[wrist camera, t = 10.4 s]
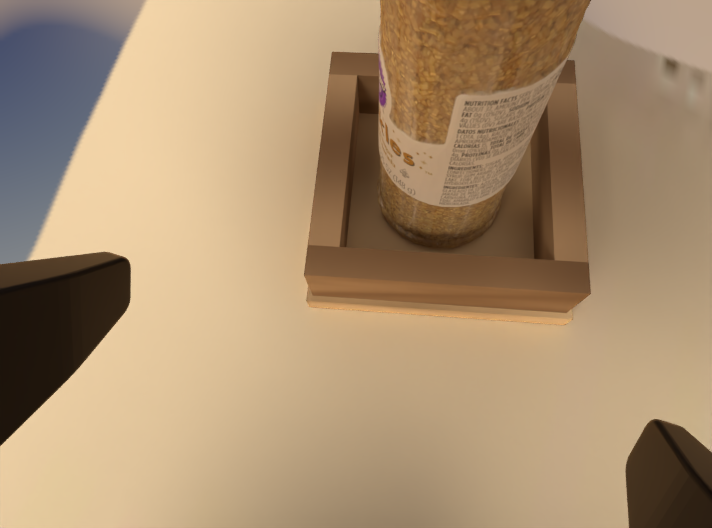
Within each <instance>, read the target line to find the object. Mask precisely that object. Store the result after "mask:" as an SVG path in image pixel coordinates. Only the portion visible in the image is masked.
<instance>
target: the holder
mask: <svg viewBox="0 0 712 528" xmlns="http://www.w3.org/2000/svg"><path fill="white" fill-rule="evenodd" d="M378 131H379V54H377V53H349V52H332V56H331V64H330V72H329V80H328V88H327V96H326V104H325V112H324V120H323V128H322V136H321V144H320V152H319V160H318V168H317V176H316V184H315V192H314V200H313V208H312V216H311V224H310V232H309V240H308V248H307V256H306V264H305V272H304V276H305V278H306V281H307V283H308V292H307V300H306V301H307V303H308V305H309V307H317V308H331V309H346V310H360V311H374V312H388V313H402V314H417V315H431V316H445V317H459V318H473V319H487V320H502V321H516V322H530V323H544V324H558V325H566V324H567V323H568V322H570V321H571V320H572V319H573V314H572V308H573V307H575V306H576V305H577V304H578V303H580V302H581V301H582V300H583V299H585V298H586V297H587V296H589V295H590V294H591V292H590V278H589V263H588V249H587V235H586V220H585V206H584V192H583V177H582V163H581V149H580V134H579V120H578V106H577V91H576V77H575V63H574V60H567V61H566V63H565V65H564V67H563V70H562V72H561V74H560V76H559V78H558V80H557V83H556V85H555V87H554V89H553V92H552V94H551V96H550V98H549V100H548V103H547V105H546V107H545V109H544V112H543V114H542V116H541V118H540V120H539V122H538V124H537V126H536V129H535V131H534V133H533V135H532V138H531V140H530V142H529V144H528V146H527V149H526V151H525V153H524V155H523V157H522V159H521V162H520V164H519V166H518V168H517V170H516V172H515V174H514V175H513V177H512V178H511V180H510V181H509V182H508V184H507V186H506V189H505V191H504V193H503V196H502V202H501V207H500V210H499V212H498V214H497V216H496V218H495V220H494V222H493V224H492V225H491V227H490V228H489V229H488V230H487V231H485V232H484V233H483V235H482V236H480V237H478V238H476V239H475V240H473V241H471V242H469V243H466V244H463V245H461V246H458V247H455V248H433V247H426V246H423V245H419V244H415V243H413V242H411V241H410V240H408V239H406V238H404V237H402V236H401V235H399V234H398V233H397V231H395V230H394V229H393V228H392V226H391V225H390V224H389V223H388V222H387V221H386V219H385V218H384V216H383V214H382V211H381V209H380V206H379V204H378V194H377V182H378V178H379V174H380V171H381V166H380V153H379V135H378Z"/></svg>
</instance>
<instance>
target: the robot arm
mask: <svg viewBox="0 0 712 528" xmlns="http://www.w3.org/2000/svg"><path fill="white" fill-rule="evenodd" d="M130 288H131V267H130V262H129V261H128V259H127V258H125V257H123V256H119V255H116V254H113V253H110V252H99V253H91V254H82V255H74V256H66V257H58V258H49V259H41V260H33V261H24V262H16V263H8V264H0V446H1V445H2V444H3V443H4V442H5V441H6V440H7V439H8V438H9V437H10V436H11V435H12V434H13V433H14V432H15V431H16V430H17V429H18V428H19V427H20V426H21V425H22V424H23V423H24V422H25V421H26V420H27V419H28V418H29V417H30V416H31V415H32V414H33V413H34V412H35V411H36V410H38V409H39V408H40V407H41V406H42V405H43V404H44V403H45V402H46V401H47V400H48V399H49V398H50V397H51V396H52V395H53V394H54V393H55V392H56V391H57V390H58V389H59V388H60V387H61V386H62V385H63V384H64V383H65V382H66V381H67V380H68V379H69V378H70V377H71V376H72V375H73V374H74V373H75V371H76V370H77V369H78V368H79V367H80V366H81V365H82V363H83V362H84V361H85V360H86V359H87V358H88V356H89V355H90V354H91V353H92V351H93V350H94V349H95V348H96V347H97V345H98V344H99V343H100V342H101V341H102V339H103V338H104V337H105V336H106V335H107V333H108V332H109V331H110V330H111V329H112V327H113V326H114V325H115V324H116V323H117V321H118V320H119V319H120V318H121V316H122V315H123V314H124V313H125V311H126V310H127V308H128V306H129V303H130ZM626 487H627V502H628V518H629V528H712V452H711V451H709V450H708V449H707V448H706V447H705V446H704V445H703V444H701V443H700V442H699V441H698V440H697V439H696V438H694V437H693V436H692V435H691V434H690V433H689V432H688V431H686V430H685V429H684V428H683V427H681V426H678V425H675V424H672V423H669V422H665V421H662V420H658V419H654V420H651V421H650V422H649V423H648V424H647V425H646V427H645V428H644V430H643V432H642V434H641V435H640V437H639V439H638V441H637V443H636V444H635V446H634V448H633V450H632V452H631V453H630V455H629V457H628V460H627V464H626Z"/></svg>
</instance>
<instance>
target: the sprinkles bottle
mask: <svg viewBox="0 0 712 528" xmlns="http://www.w3.org/2000/svg"><path fill="white" fill-rule="evenodd" d="M590 1H591V0H380V5H381V16H380V17H381V25H380V29H379V37H378V45H379V131H378V135H379V153H380V166H381V171H380V174H379V178H378V182H377V194H378V204H379V206H380V209H381V211H382V214H383V216H384V218H385V219H386V221H387V222H388V223H389V224H390V225H391V226H392V228H393V229H394V230H395V231H397V233H398V234H399V235H401V236H402V237H404V238H406V239H408V240H410V241H411V242H413V243H415V244H419V245H423V246H426V247H433V248H455V247H458V246H461V245H463V244H466V243H469V242H471V241H473V240H475V239H476V238H478V237H480V236H482V235H483V233H484V232H485V231H487V230H488V229H489V228H490V227H491V225H492V224H493V222H494V220H495V218H496V216H497V214H498V212H499V210H500V207H501V202H502V196H503V193H504V191H505V189H506V186H507V184H508V182H509V181H510V180H511V178H512V177H513V175H514V174H515V172H516V170H517V168H518V166H519V164H520V162H521V159H522V157H523V155H524V153H525V151H526V149H527V146H528V144H529V142H530V140H531V138H532V135H533V133H534V131H535V129H536V126H537V124H538V122H539V120H540V118H541V116H542V114H543V112H544V109H545V107H546V105H547V103H548V100H549V98H550V96H551V94H552V92H553V89H554V87H555V85H556V83H557V80H558V78H559V76H560V74H561V72H562V70H563V67H564V65H565V63H566V61H567V59H568V57H569V54H570V52H571V50H572V48H573V45H574V43H575V39H576V36H577V31H578V28H579V26H580V23H581V21H582V19H583V16H584V13H585V10H586V8H587V7H588V5H589V3H590Z"/></svg>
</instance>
